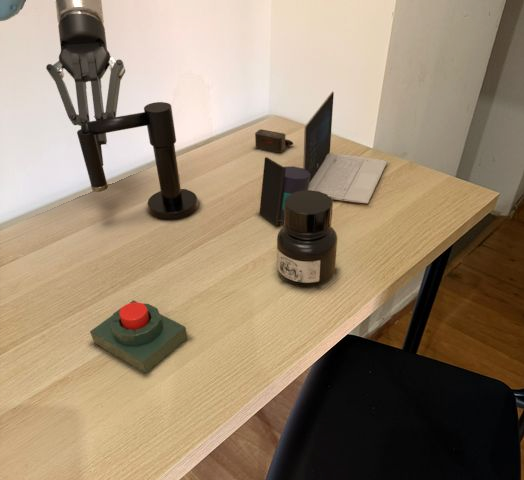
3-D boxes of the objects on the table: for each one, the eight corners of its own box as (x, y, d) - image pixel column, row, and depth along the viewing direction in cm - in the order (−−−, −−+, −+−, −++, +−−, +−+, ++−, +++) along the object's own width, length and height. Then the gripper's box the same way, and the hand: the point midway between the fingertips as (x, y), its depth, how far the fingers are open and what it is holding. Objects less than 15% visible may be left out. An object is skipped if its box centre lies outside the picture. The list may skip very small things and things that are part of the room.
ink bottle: (264, 270, 83) (261, 200, 75) (303, 247, 87) (305, 179, 79) (309, 298, 78) (312, 226, 70) (348, 272, 82) (355, 202, 74)
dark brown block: (284, 154, 113) (284, 139, 110) (254, 148, 115) (254, 133, 113) (293, 146, 116) (293, 131, 113) (264, 140, 118) (264, 125, 116)
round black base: (138, 211, 97) (125, 147, 89) (172, 191, 102) (162, 128, 94) (174, 225, 93) (164, 160, 85) (207, 204, 99) (200, 140, 90)
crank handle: (176, 166, 95) (167, 100, 87) (183, 176, 92) (174, 109, 84) (90, 184, 91) (71, 116, 83) (94, 195, 89) (75, 126, 80)
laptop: (367, 206, 96) (376, 135, 87) (301, 196, 100) (303, 126, 91) (387, 164, 108) (396, 97, 99) (327, 155, 112) (331, 90, 103)
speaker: (267, 229, 91) (271, 170, 85) (259, 214, 95) (262, 157, 89) (309, 226, 93) (316, 168, 86) (298, 211, 97) (305, 155, 91)
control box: (93, 343, 72) (86, 321, 70) (136, 311, 77) (130, 289, 74) (145, 373, 68) (140, 351, 65) (187, 338, 73) (183, 316, 70)
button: (116, 323, 70) (113, 313, 68) (136, 308, 72) (133, 298, 70) (135, 333, 68) (132, 323, 67) (155, 318, 70) (152, 308, 69)
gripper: (124, 35, 94) (139, 167, 94) (49, 40, 93) (64, 174, 93) (116, 8, 87) (132, 151, 87) (34, 13, 86) (51, 158, 86)
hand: (97, 163), depth 90 cm, fingers closed
